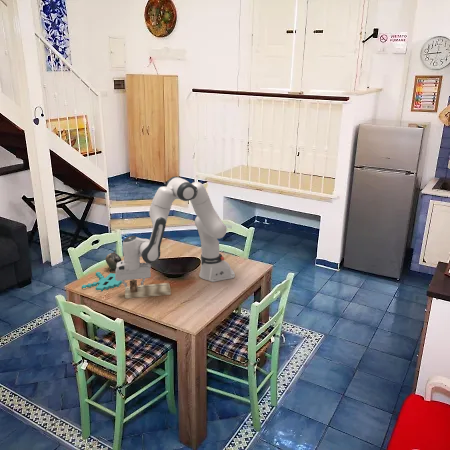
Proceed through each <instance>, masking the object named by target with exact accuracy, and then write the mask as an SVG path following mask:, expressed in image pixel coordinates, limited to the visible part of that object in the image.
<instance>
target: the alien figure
mask: <svg viewBox="0 0 450 450" xmlns="http://www.w3.org/2000/svg"><path fill="white" fill-rule="evenodd" d="M95 276H96V277H97V278H98V281H93V282H92V283H91V282H90V283H88V284H82V285H81V289H82V288H86V287H91V286H92V287H94V286H96V285H97V284H98V285H97V286H96V287H95V291H96V290H101V291H100V292H104V291H105V290H104V289H106V291H108V290H109V289H112V288H113V289H114V288H119V287H120V286H121V285H122V284H123V283H122V281H116V280H115V273H114V272H113V273H112V272H109V274H108V275H107V276H106V277H105V276H104V275H103V274H102V273H101V272H100V271H96V272H95ZM92 287H91V288H92ZM86 289H87V288H86ZM103 290H104V291H103Z"/></svg>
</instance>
